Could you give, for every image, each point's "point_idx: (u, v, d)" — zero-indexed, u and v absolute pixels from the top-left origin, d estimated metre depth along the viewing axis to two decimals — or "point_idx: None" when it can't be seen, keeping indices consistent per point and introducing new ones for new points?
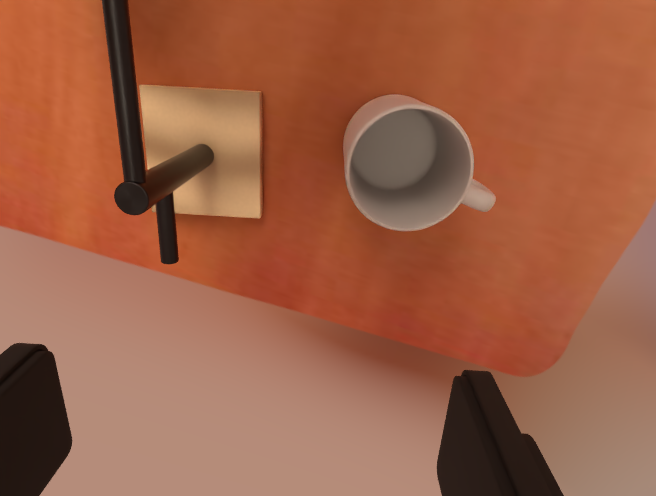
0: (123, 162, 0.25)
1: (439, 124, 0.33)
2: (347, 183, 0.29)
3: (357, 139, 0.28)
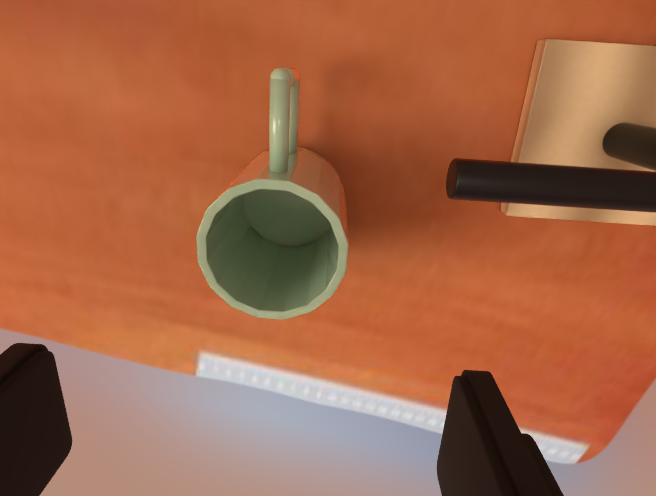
0: None
1: None
2: None
3: None
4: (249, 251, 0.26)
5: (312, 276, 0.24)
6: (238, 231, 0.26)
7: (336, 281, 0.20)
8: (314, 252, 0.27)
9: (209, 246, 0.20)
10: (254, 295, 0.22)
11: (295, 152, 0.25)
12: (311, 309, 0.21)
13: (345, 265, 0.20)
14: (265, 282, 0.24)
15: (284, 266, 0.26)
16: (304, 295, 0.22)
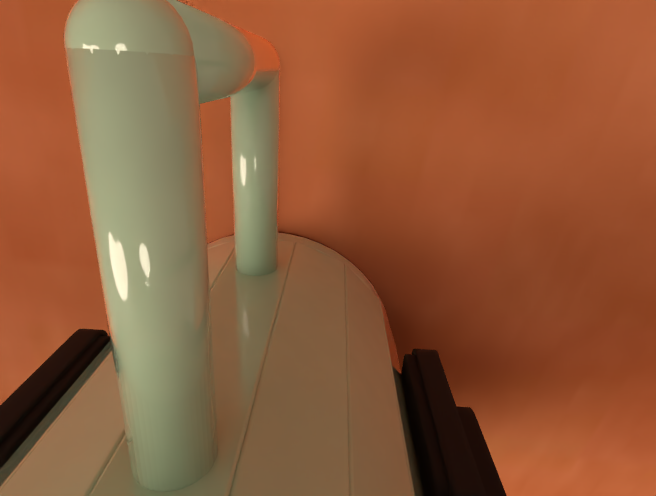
0: None
1: None
2: None
3: None
4: None
5: None
6: None
7: None
8: None
9: None
10: None
11: (272, 270, 0.09)
12: None
13: None
14: None
15: None
16: None
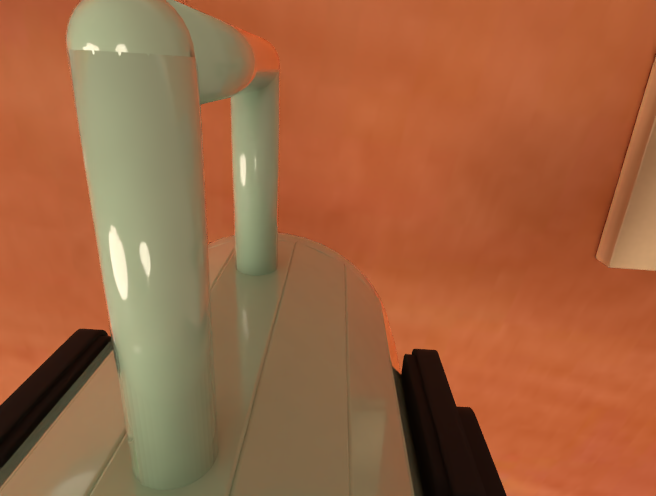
0: None
1: None
2: None
3: None
4: None
5: None
6: None
7: None
8: None
9: None
10: None
11: (272, 270, 0.09)
12: None
13: None
14: None
15: None
16: None
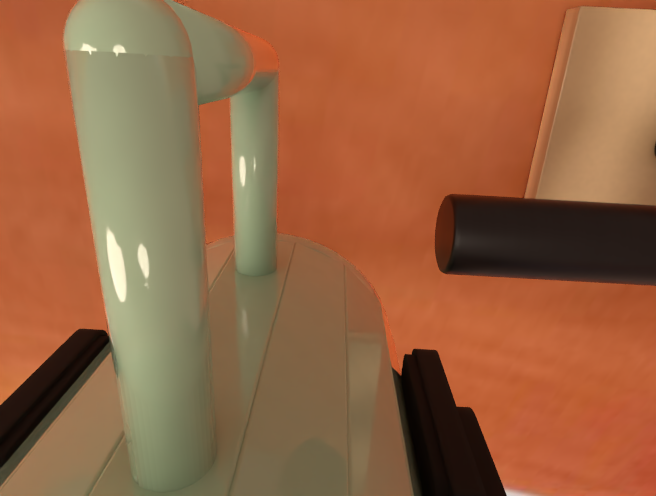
0: None
1: None
2: None
3: None
4: None
5: None
6: None
7: None
8: None
9: None
10: None
11: (271, 271, 0.09)
12: None
13: None
14: None
15: None
16: None
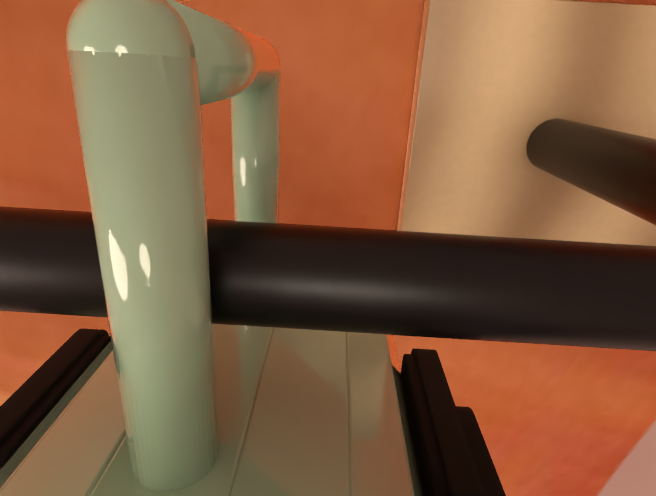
0: None
1: None
2: None
3: None
4: None
5: None
6: None
7: None
8: None
9: None
10: None
11: None
12: None
13: None
14: None
15: None
16: None
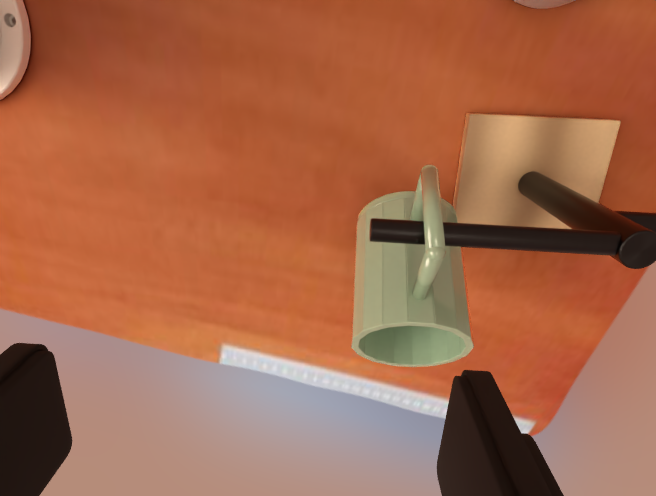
0: (593, 252, 0.22)
1: None
2: None
3: None
4: None
5: None
6: None
7: (458, 358, 0.26)
8: None
9: None
10: (387, 345, 0.29)
11: None
12: (433, 363, 0.28)
13: (468, 353, 0.26)
14: None
15: None
16: (427, 348, 0.28)
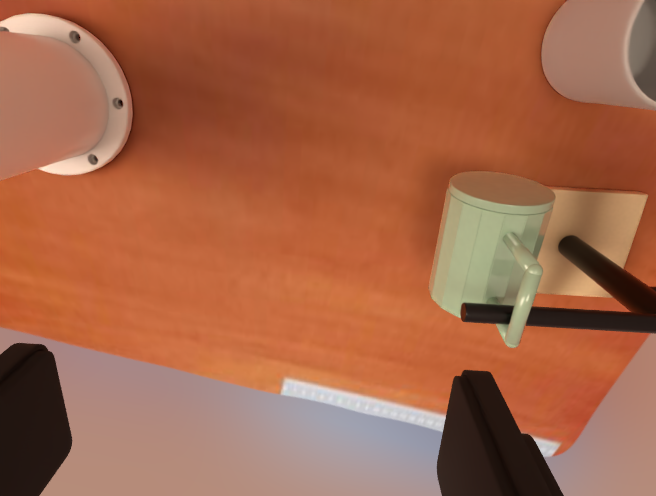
0: (643, 331, 0.27)
1: None
2: None
3: (648, 98, 0.26)
4: None
5: None
6: None
7: None
8: None
9: None
10: None
11: None
12: None
13: None
14: None
15: None
16: None
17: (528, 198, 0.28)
